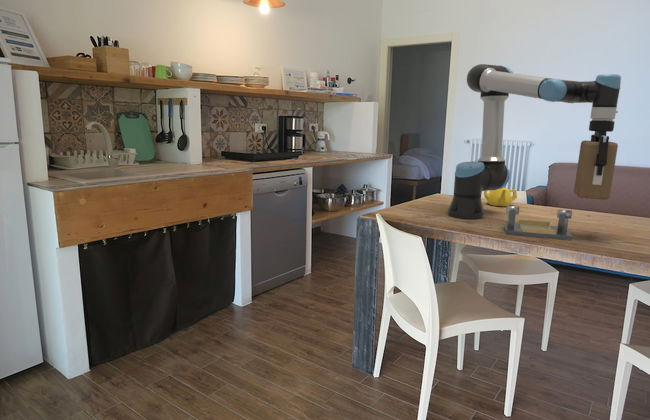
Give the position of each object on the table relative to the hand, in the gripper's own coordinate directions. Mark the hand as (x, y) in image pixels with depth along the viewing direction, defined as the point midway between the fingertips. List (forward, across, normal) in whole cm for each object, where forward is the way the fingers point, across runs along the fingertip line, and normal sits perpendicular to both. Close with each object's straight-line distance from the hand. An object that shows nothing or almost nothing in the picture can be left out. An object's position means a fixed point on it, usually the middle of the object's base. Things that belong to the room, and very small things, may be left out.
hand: (592, 182), depth 166 cm
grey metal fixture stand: (+20, 0, +17) cm, 26 cm away
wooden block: (+6, 0, 0) cm, 6 cm away
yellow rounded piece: (+21, +54, +28) cm, 64 cm away
